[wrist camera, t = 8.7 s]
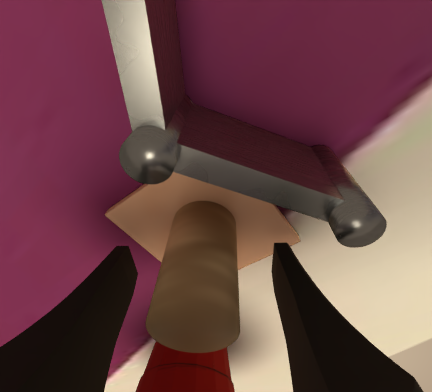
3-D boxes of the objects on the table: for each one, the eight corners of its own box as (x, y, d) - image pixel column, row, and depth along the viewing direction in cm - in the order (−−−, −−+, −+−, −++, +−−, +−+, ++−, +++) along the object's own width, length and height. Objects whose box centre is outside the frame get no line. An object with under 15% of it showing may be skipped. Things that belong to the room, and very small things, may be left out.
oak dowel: (241, 205, 14) (248, 307, 9) (230, 252, 16) (231, 357, 11) (174, 196, 14) (144, 294, 9) (171, 245, 16) (146, 347, 11)
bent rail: (338, 163, 13) (393, 234, 9) (243, 214, 15) (250, 292, 11) (143, -197, 7) (23, -504, 3) (30, -37, 9) (-139, -82, 5)
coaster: (298, 235, 16) (300, 241, 16) (195, 283, 19) (194, 289, 18) (220, 131, 12) (219, 135, 12) (107, 209, 15) (104, 214, 15)
